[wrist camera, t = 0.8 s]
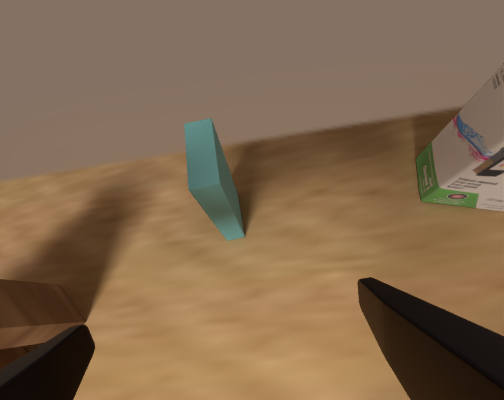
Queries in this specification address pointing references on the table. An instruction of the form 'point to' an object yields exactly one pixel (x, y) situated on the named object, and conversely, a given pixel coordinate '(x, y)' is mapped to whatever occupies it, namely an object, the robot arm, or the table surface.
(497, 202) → the ink box
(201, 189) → the domino
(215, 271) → the table surface
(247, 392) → the table surface
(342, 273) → the table surface
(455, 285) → the table surface
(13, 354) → the domino
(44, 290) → the domino
